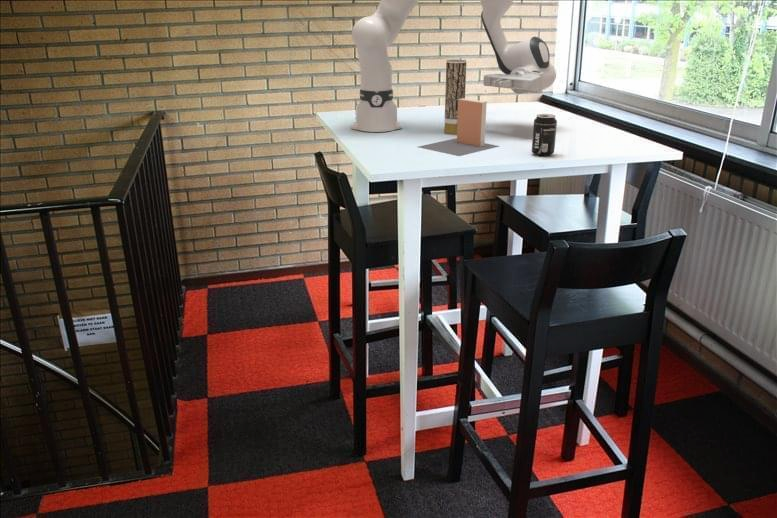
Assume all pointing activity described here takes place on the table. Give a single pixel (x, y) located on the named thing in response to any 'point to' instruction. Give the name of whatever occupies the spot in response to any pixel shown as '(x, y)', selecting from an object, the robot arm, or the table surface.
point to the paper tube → (454, 93)
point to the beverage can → (544, 135)
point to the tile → (471, 122)
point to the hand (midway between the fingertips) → (496, 84)
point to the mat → (456, 147)
